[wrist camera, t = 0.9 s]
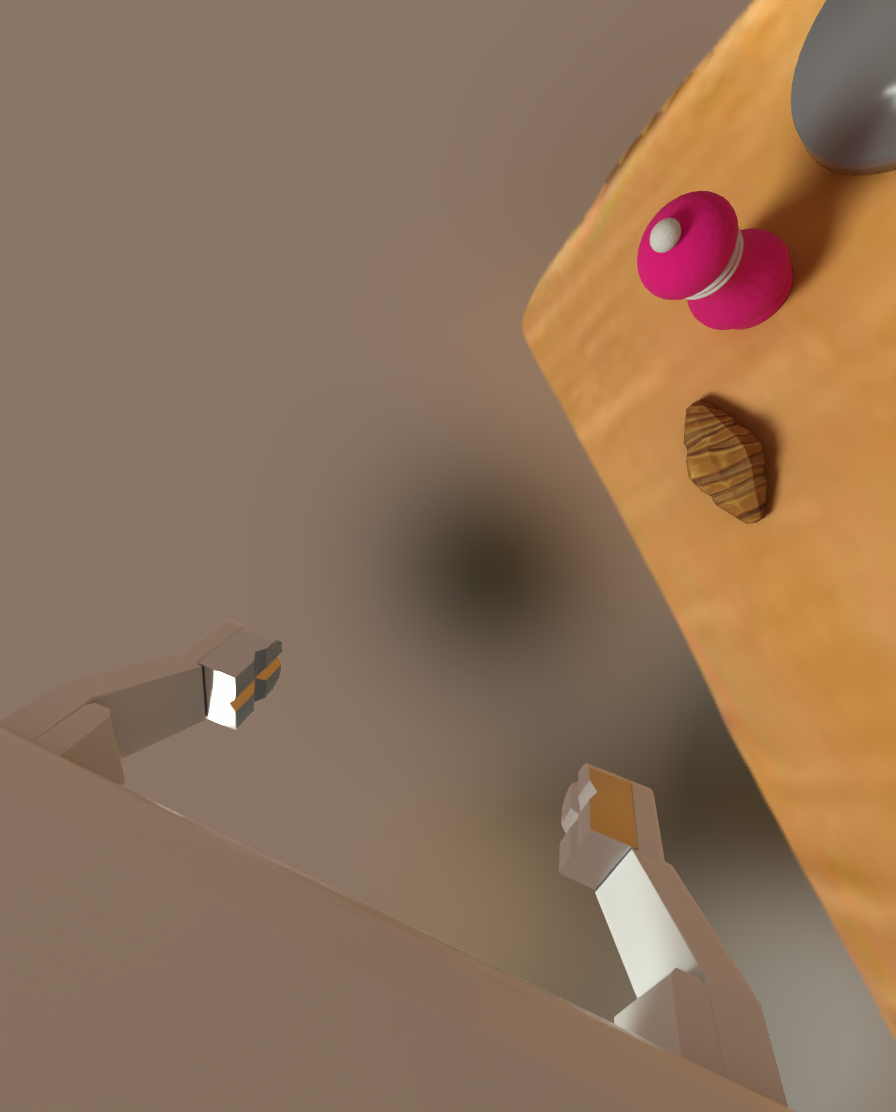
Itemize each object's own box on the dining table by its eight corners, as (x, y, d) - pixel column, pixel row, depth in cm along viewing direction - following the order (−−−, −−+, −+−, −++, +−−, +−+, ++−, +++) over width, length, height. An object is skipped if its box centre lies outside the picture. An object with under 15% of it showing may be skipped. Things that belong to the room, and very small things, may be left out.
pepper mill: (725, 244, 40) (624, 164, 27) (818, 242, 36) (750, 144, 23) (694, 331, 43) (591, 296, 30) (776, 339, 39) (695, 302, 26)
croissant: (801, 505, 40) (789, 513, 37) (725, 532, 45) (709, 542, 42) (734, 380, 42) (717, 378, 39) (668, 421, 47) (648, 421, 44)
